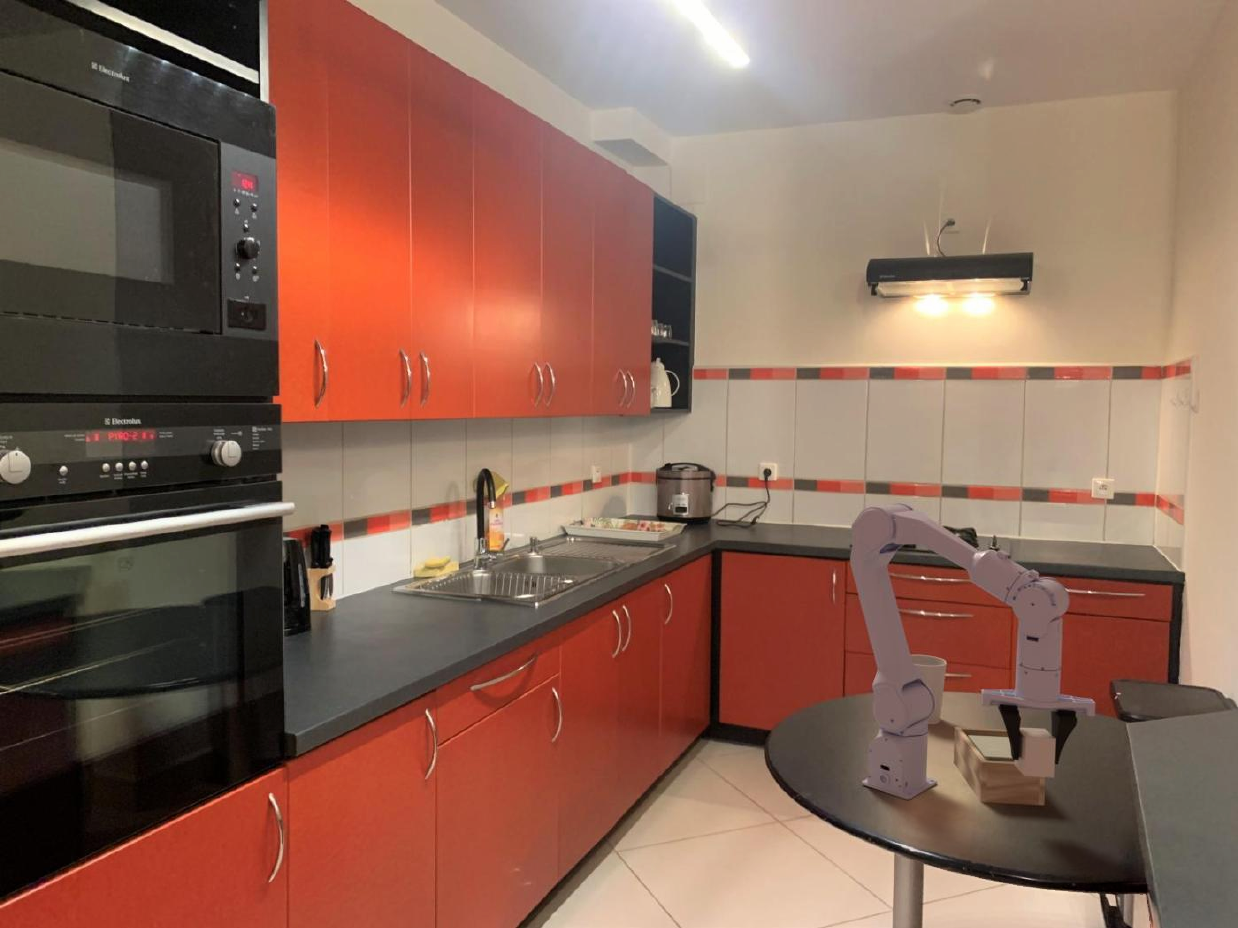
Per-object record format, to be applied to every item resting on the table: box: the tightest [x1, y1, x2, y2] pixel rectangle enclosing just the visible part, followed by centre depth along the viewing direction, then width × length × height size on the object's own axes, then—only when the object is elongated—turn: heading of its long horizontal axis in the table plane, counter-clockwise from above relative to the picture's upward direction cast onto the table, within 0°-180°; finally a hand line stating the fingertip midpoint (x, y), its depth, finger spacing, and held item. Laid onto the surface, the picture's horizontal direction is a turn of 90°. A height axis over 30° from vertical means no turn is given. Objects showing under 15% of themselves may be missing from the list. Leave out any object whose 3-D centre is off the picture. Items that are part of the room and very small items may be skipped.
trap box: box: [953, 726, 1046, 806], centre depth 142 cm, size 15×9×6 cm, turn 174°
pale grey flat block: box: [968, 735, 1015, 762], centre depth 141 cm, size 9×7×4 cm
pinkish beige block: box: [1014, 727, 1056, 778], centre depth 127 cm, size 4×4×6 cm
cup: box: [910, 654, 948, 725], centre depth 170 cm, size 8×8×12 cm
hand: (1034, 759), depth 127 cm, fingers closed on pinkish beige block, 4 cm apart
